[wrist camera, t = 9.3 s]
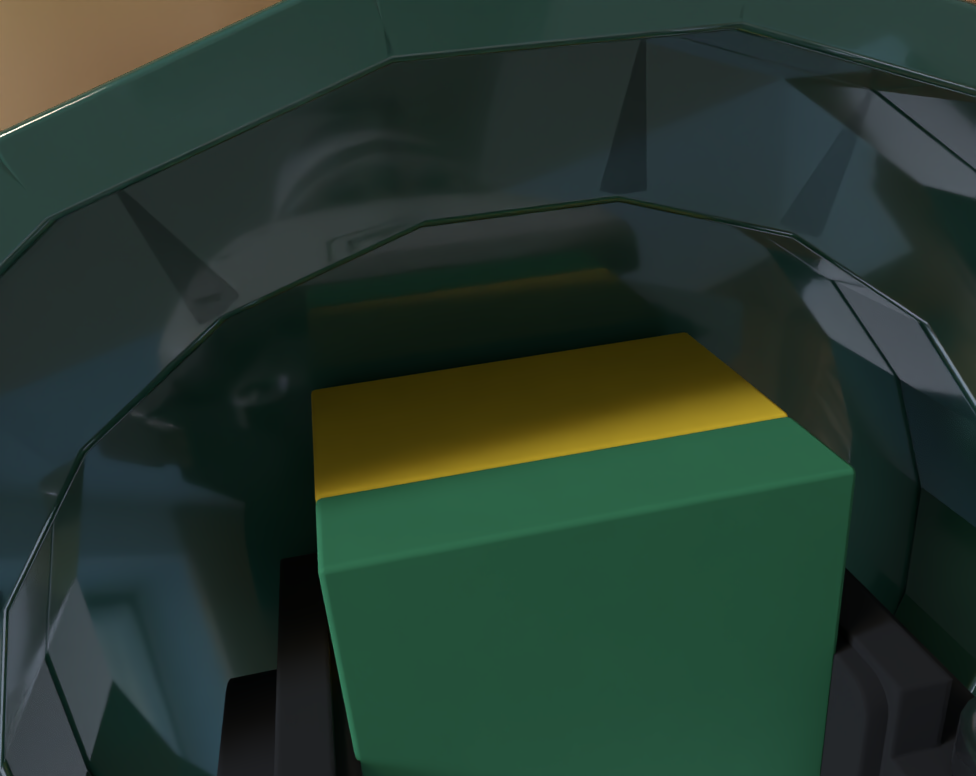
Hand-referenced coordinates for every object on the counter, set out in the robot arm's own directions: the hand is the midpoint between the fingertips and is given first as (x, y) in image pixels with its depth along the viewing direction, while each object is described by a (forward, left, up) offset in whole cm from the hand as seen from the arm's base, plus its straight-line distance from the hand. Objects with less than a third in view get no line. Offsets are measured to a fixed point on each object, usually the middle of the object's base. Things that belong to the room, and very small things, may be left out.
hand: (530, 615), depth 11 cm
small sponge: (0, 0, 0) cm, 0 cm away
